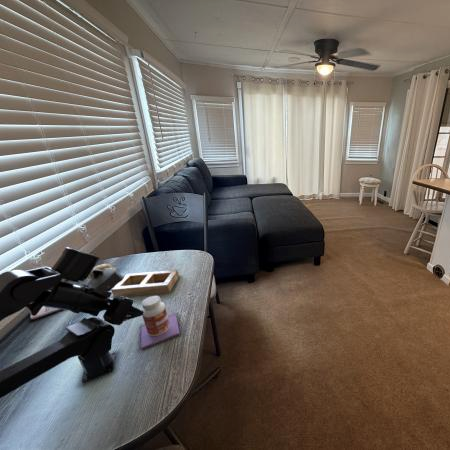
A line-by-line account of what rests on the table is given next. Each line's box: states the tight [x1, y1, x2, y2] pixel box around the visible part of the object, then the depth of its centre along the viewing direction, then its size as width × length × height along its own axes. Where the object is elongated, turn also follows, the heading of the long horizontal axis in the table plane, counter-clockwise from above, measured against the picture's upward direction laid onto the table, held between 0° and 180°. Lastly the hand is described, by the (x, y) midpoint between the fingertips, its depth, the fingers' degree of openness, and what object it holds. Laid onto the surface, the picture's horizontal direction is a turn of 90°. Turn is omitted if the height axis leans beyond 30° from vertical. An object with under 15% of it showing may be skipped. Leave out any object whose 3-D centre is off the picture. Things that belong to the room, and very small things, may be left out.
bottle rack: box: [110, 269, 180, 298], centre depth 97 cm, size 11×20×4 cm, turn 97°
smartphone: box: [29, 306, 62, 320], centre depth 88 cm, size 7×1×15 cm
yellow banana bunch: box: [87, 263, 117, 280], centre depth 104 cm, size 10×6×15 cm
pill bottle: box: [141, 295, 170, 336], centre depth 73 cm, size 6×6×11 cm
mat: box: [140, 313, 180, 349], centre depth 75 cm, size 10×10×1 cm
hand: (133, 309), depth 69 cm, fingers open, 9 cm apart
